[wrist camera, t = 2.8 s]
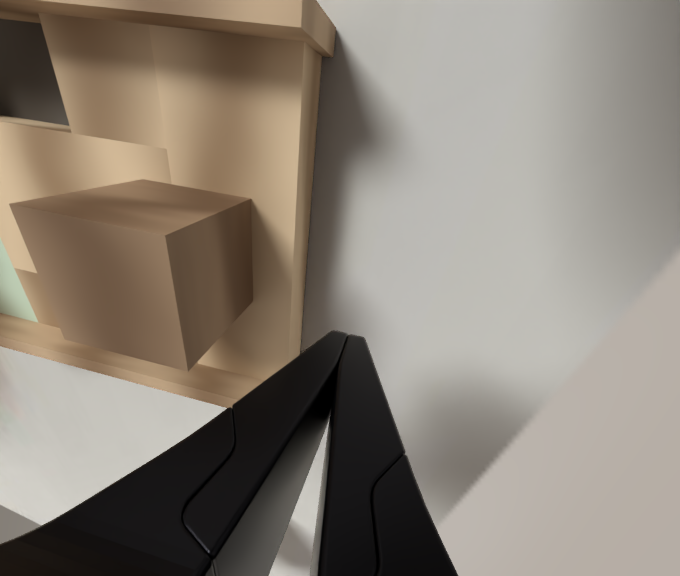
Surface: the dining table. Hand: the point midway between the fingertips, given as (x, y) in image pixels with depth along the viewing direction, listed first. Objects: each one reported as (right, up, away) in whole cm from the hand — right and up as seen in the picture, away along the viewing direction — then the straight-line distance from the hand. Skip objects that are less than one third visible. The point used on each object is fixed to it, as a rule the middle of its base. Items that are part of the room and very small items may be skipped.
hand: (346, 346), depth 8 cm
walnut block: (-6, +3, +5) cm, 8 cm away
